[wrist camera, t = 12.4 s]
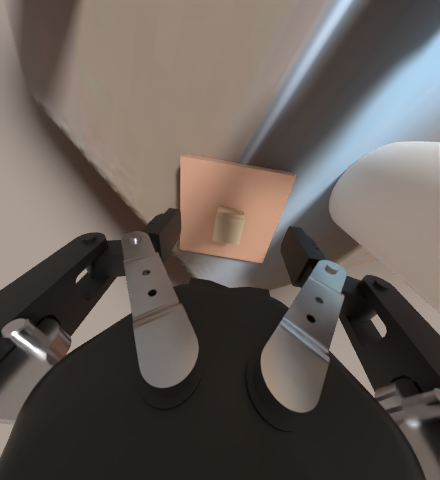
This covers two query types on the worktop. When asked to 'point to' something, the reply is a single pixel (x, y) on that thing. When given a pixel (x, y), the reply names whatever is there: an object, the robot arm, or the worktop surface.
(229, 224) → the maple block
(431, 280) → the cylinder
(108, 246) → the robot arm
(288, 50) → the worktop surface
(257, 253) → the terracotta platform
